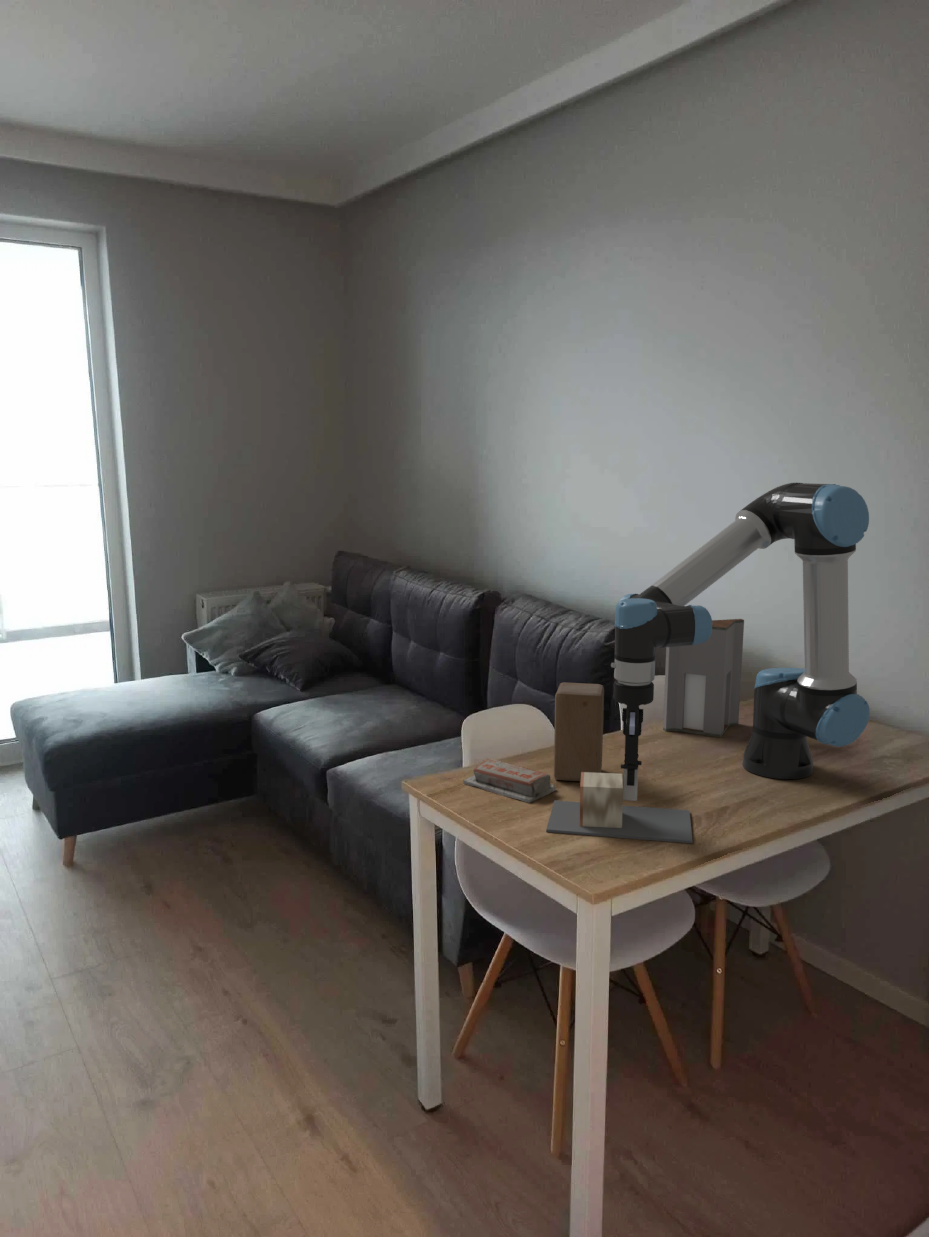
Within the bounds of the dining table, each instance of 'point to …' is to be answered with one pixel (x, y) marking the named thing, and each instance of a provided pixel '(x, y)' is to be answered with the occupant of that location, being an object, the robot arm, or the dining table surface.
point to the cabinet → (705, 682)
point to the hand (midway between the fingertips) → (630, 798)
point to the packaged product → (510, 780)
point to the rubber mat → (626, 823)
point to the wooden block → (578, 730)
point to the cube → (601, 800)
